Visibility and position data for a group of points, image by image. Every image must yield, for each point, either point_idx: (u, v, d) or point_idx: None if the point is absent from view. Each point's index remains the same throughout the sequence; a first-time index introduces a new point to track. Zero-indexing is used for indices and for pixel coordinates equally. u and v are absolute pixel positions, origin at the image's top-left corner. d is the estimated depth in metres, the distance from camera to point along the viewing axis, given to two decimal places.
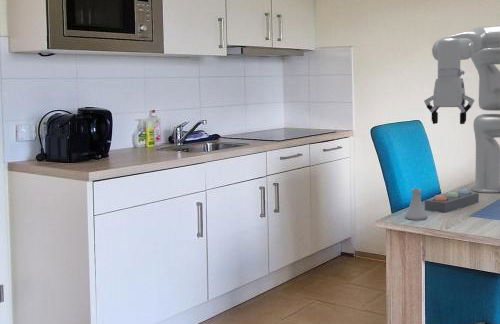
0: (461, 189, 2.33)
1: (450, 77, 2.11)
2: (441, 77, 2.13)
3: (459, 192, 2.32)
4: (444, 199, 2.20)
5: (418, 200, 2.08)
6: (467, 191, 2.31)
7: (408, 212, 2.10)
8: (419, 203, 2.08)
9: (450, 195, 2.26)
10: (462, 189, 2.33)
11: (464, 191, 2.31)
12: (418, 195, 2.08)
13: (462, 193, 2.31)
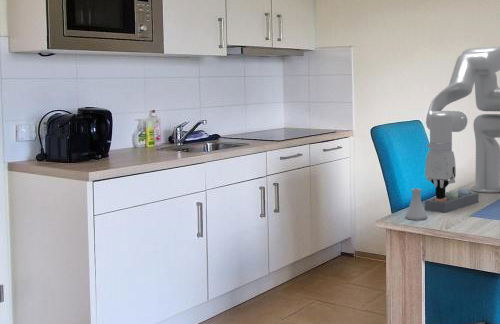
0: (461, 189, 2.33)
1: None
2: None
3: (459, 192, 2.32)
4: None
5: (418, 200, 2.08)
6: (467, 191, 2.31)
7: (408, 212, 2.10)
8: (419, 203, 2.08)
9: (450, 195, 2.26)
10: (462, 189, 2.33)
11: (464, 191, 2.31)
12: (418, 195, 2.08)
13: (462, 193, 2.31)
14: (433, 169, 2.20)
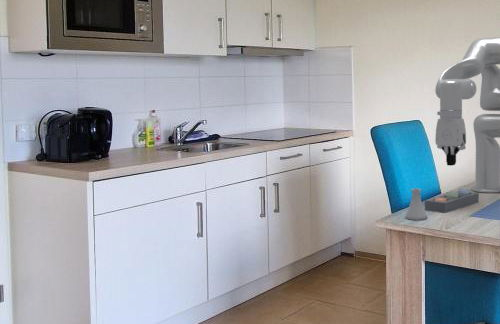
0: (461, 189, 2.33)
1: None
2: None
3: (459, 192, 2.32)
4: None
5: (418, 200, 2.08)
6: (467, 191, 2.31)
7: (408, 212, 2.10)
8: (419, 203, 2.08)
9: (450, 195, 2.26)
10: (462, 189, 2.33)
11: (464, 191, 2.31)
12: (418, 195, 2.08)
13: (462, 193, 2.31)
14: (443, 136, 2.23)
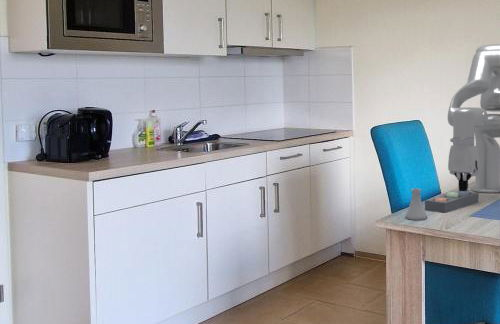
0: None
1: None
2: None
3: (459, 193, 2.32)
4: None
5: (418, 200, 2.08)
6: (467, 192, 2.31)
7: (408, 212, 2.10)
8: (419, 203, 2.08)
9: (450, 195, 2.26)
10: None
11: (464, 192, 2.31)
12: (418, 195, 2.08)
13: (462, 194, 2.31)
14: (456, 162, 2.30)
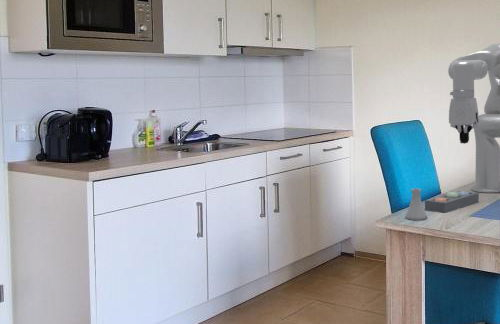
0: (461, 192, 2.33)
1: None
2: None
3: None
4: None
5: (418, 200, 2.08)
6: (467, 194, 2.31)
7: (408, 212, 2.10)
8: (419, 203, 2.08)
9: (450, 195, 2.26)
10: (462, 192, 2.33)
11: (464, 194, 2.31)
12: (418, 195, 2.08)
13: None
14: (457, 115, 2.33)
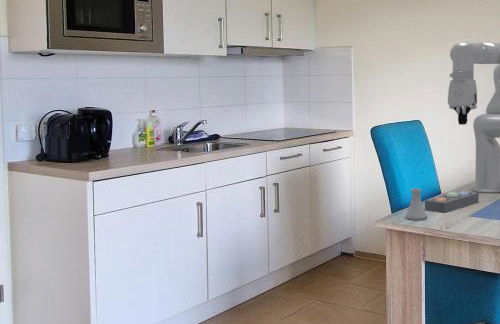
0: (461, 192, 2.33)
1: None
2: None
3: None
4: None
5: (418, 200, 2.08)
6: (467, 194, 2.31)
7: (408, 212, 2.10)
8: (419, 203, 2.08)
9: (450, 195, 2.26)
10: (462, 192, 2.33)
11: (464, 194, 2.31)
12: (418, 195, 2.08)
13: None
14: (455, 96, 2.35)
